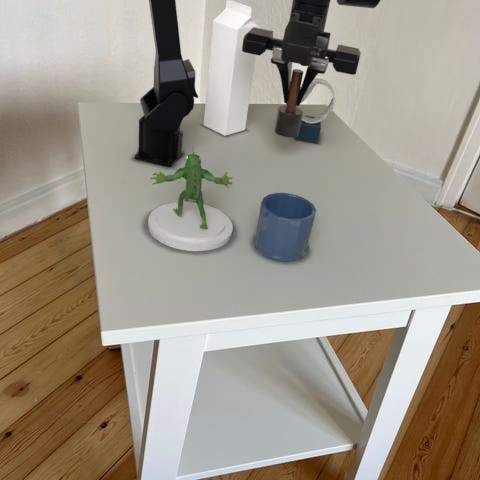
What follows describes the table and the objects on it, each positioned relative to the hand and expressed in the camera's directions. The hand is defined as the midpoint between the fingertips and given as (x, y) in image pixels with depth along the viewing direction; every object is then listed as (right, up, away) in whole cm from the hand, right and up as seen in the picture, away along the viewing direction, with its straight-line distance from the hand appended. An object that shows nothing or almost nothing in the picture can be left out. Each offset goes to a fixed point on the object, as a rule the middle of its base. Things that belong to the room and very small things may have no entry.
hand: (291, 104), depth 95 cm
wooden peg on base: (-1, -4, +3) cm, 5 cm away
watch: (+5, 0, +17) cm, 18 cm away
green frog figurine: (-16, -24, -16) cm, 33 cm away
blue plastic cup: (-3, -27, -16) cm, 32 cm away
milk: (-12, +1, +15) cm, 19 cm away
